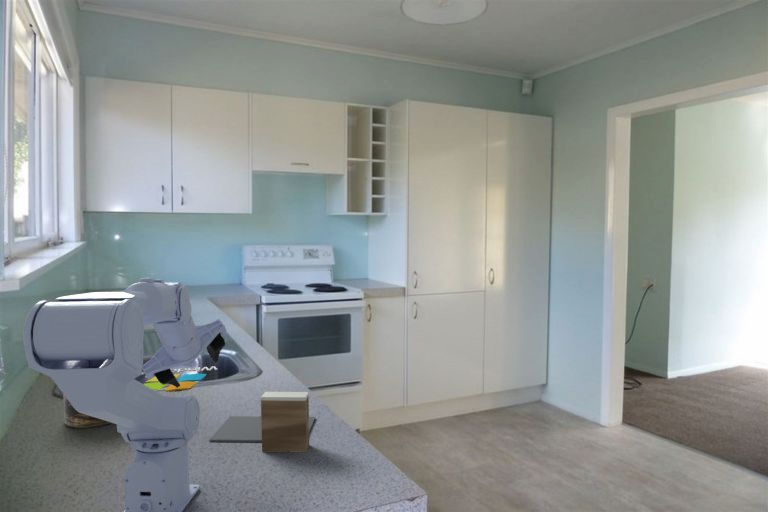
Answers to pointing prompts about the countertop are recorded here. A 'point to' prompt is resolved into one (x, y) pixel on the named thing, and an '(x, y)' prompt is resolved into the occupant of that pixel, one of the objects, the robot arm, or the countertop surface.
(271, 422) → the wooden block
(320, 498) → the countertop surface
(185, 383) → the logo
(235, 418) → the mat
